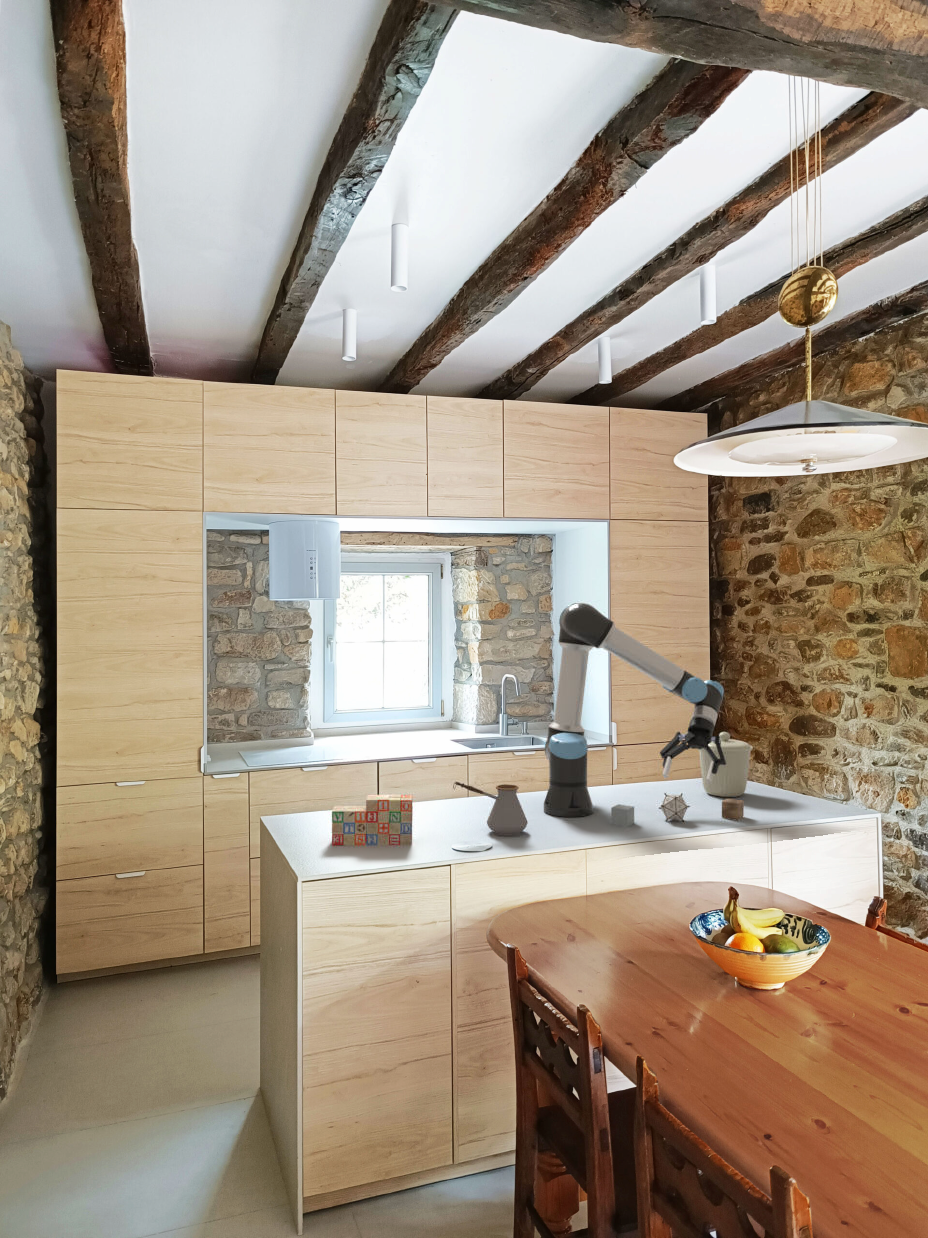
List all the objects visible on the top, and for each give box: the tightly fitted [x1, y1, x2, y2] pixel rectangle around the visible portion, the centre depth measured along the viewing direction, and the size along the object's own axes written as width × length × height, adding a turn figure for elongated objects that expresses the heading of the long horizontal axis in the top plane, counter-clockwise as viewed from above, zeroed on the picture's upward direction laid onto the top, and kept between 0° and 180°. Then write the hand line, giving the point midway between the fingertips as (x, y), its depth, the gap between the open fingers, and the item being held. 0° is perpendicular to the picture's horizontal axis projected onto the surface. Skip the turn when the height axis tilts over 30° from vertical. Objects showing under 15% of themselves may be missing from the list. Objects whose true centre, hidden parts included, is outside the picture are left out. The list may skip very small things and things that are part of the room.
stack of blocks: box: [331, 794, 414, 846], centre depth 226 cm, size 21×6×12 cm, turn 92°
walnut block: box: [721, 798, 745, 821], centre depth 253 cm, size 5×5×5 cm
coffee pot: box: [452, 781, 529, 837], centre depth 235 cm, size 21×12×15 cm, turn 104°
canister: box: [698, 731, 754, 798], centre depth 285 cm, size 18×18×21 cm
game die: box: [658, 792, 691, 823], centre depth 249 cm, size 9×8×10 cm
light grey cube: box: [610, 803, 635, 828], centre depth 246 cm, size 5×5×5 cm
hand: (686, 779), depth 255 cm, fingers open, 13 cm apart
